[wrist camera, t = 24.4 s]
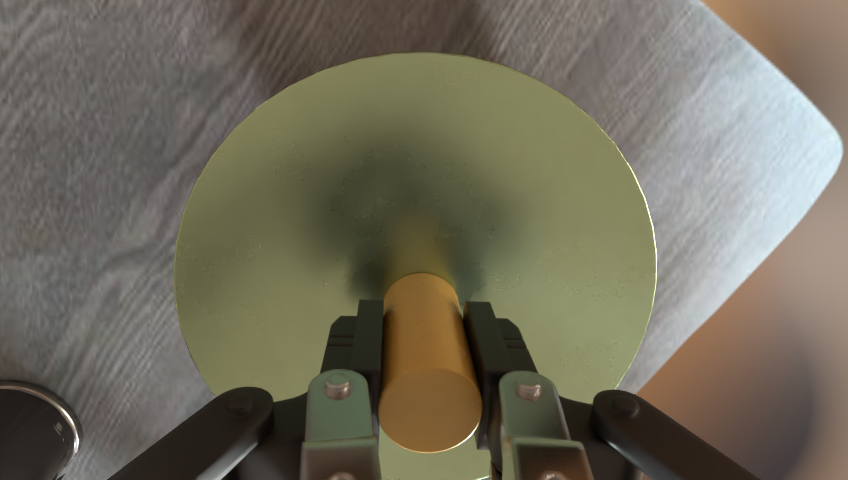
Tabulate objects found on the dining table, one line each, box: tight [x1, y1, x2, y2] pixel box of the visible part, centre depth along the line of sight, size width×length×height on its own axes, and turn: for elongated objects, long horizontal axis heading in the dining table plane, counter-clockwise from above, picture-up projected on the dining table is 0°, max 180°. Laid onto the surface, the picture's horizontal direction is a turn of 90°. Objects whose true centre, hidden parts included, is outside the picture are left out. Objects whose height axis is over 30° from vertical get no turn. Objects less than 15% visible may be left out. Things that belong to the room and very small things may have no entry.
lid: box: [173, 52, 657, 480], centre depth 14 cm, size 15×15×6 cm
